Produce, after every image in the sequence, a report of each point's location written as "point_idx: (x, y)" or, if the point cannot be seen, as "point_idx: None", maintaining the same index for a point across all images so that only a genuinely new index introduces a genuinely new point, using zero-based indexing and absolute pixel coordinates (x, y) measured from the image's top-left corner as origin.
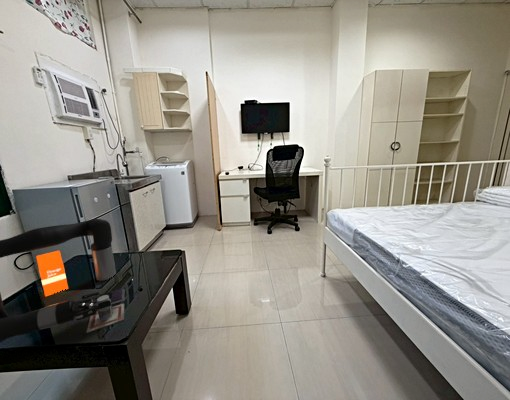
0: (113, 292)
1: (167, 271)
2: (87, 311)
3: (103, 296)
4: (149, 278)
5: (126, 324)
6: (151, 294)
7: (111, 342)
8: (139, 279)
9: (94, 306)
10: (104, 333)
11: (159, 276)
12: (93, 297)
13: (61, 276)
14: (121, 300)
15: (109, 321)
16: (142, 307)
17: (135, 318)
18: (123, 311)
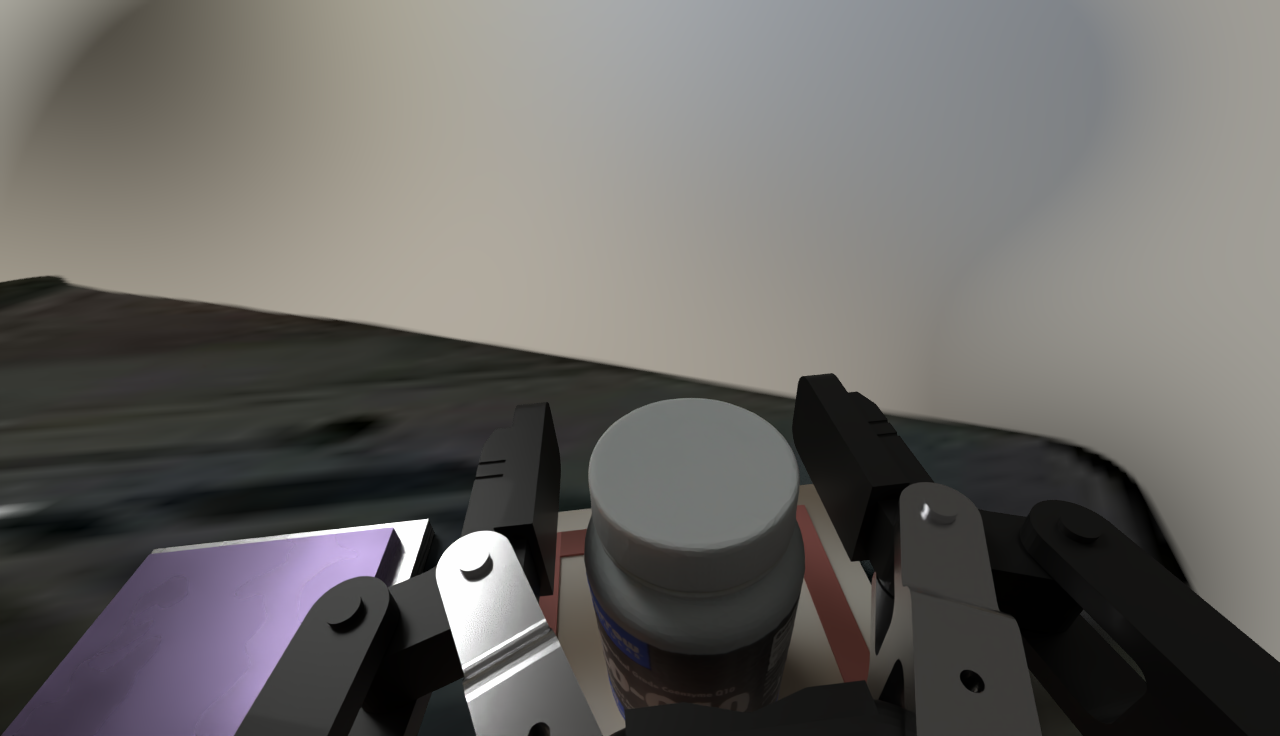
0: (108, 655)
1: (256, 313)
2: (1245, 652)
3: (635, 460)
4: (210, 391)
5: None
6: (516, 365)
7: (1161, 538)
8: (107, 455)
9: (976, 554)
10: None
11: (272, 343)
12: (557, 648)
13: None
14: (423, 547)
15: (826, 605)
16: (674, 396)
17: None
18: None
